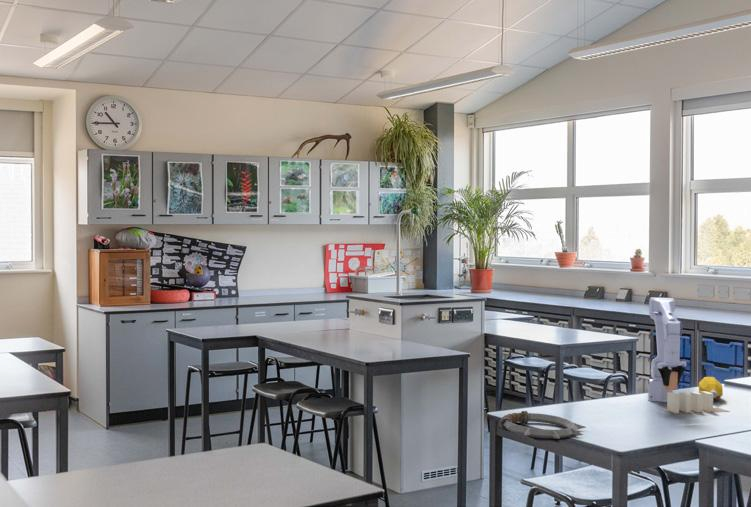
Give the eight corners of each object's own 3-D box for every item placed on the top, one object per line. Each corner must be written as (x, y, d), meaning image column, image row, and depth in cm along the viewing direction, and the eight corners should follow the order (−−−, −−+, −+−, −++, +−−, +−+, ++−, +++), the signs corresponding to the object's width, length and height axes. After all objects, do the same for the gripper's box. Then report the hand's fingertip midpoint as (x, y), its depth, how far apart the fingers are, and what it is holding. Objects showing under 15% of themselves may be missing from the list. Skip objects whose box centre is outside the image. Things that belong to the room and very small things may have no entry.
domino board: (672, 415, 322) (672, 413, 322) (660, 411, 330) (660, 409, 330) (730, 413, 329) (730, 411, 328) (717, 409, 336) (717, 407, 336)
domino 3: (685, 412, 325) (686, 394, 325) (678, 409, 330) (678, 392, 330) (690, 412, 326) (690, 394, 326) (682, 409, 331) (683, 391, 330)
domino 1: (677, 389, 335) (677, 372, 335) (668, 390, 333) (668, 372, 333) (673, 388, 337) (674, 371, 337) (664, 389, 335) (665, 372, 335)
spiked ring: (481, 432, 287) (562, 450, 269) (481, 419, 287) (563, 436, 269) (525, 417, 314) (602, 432, 296) (526, 405, 314) (603, 420, 296)
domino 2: (674, 412, 324) (675, 394, 324) (666, 410, 329) (667, 392, 329) (679, 412, 325) (679, 394, 324) (671, 409, 329) (672, 392, 329)
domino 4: (697, 412, 327) (697, 394, 326) (689, 409, 331) (689, 391, 331) (701, 411, 327) (702, 394, 327) (693, 409, 332) (694, 391, 332)
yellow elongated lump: (708, 411, 343) (697, 389, 344) (701, 398, 371) (691, 377, 372) (732, 402, 340) (720, 379, 341) (723, 389, 369) (713, 368, 370)
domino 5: (708, 411, 328) (708, 393, 328) (700, 409, 333) (700, 391, 332) (712, 411, 328) (713, 393, 328) (704, 408, 333) (705, 391, 333)
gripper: (666, 353, 328) (665, 388, 328) (693, 351, 335) (691, 385, 335) (653, 351, 334) (652, 385, 334) (679, 349, 341) (678, 382, 341)
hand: (671, 385), depth 335 cm, fingers closed on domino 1, 5 cm apart
